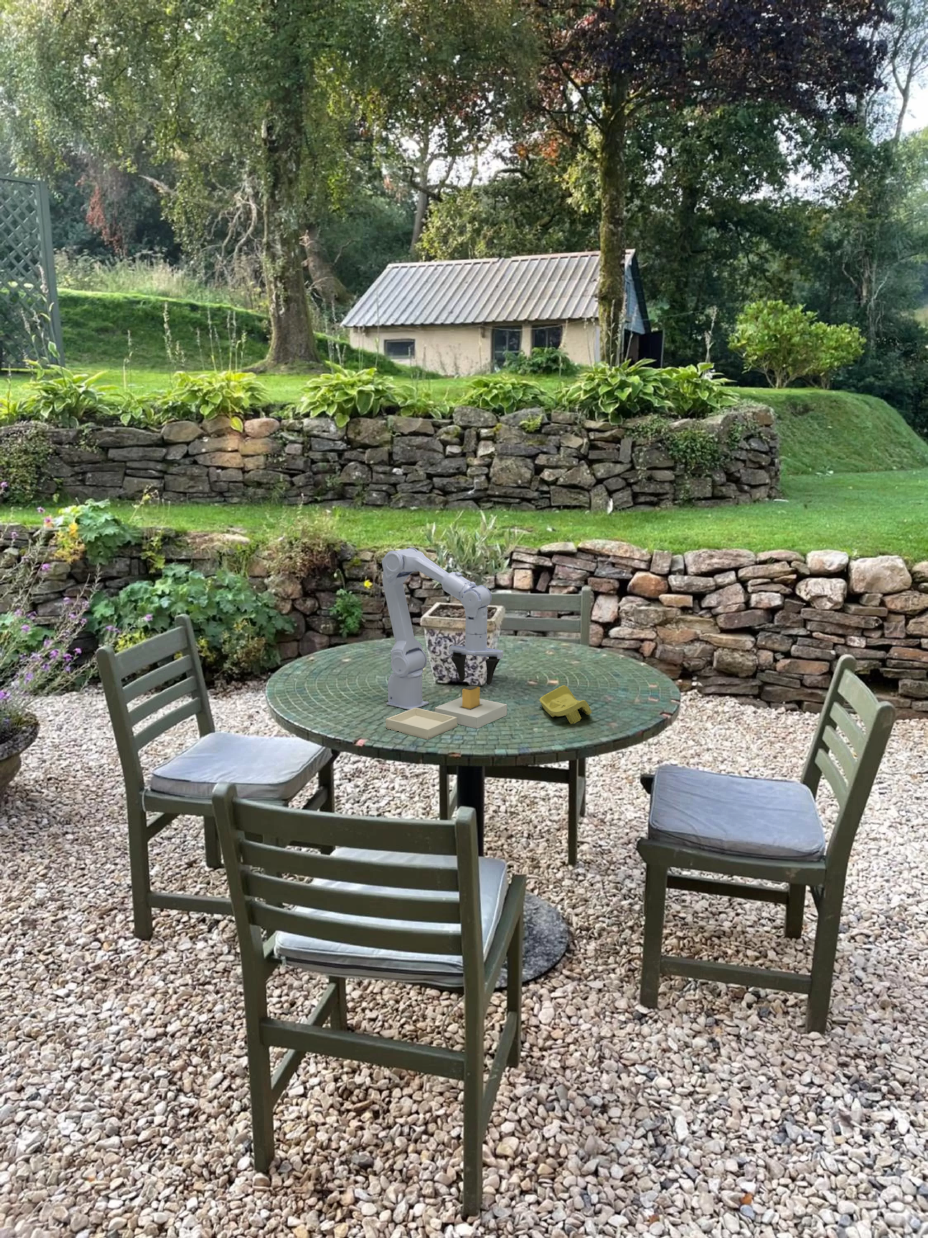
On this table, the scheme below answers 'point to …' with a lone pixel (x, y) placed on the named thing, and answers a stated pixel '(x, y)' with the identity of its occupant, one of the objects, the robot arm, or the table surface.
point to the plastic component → (564, 704)
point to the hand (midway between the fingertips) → (475, 682)
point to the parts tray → (421, 723)
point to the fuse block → (473, 712)
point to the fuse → (470, 697)
